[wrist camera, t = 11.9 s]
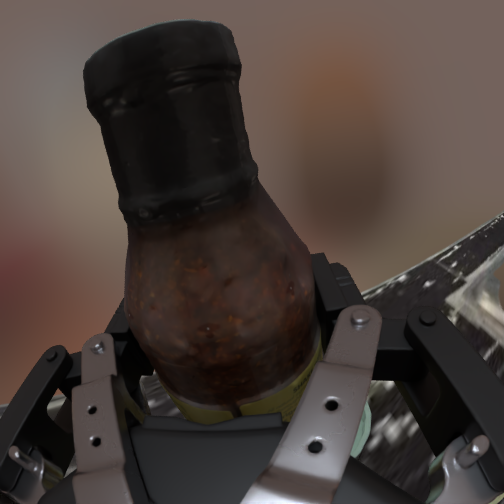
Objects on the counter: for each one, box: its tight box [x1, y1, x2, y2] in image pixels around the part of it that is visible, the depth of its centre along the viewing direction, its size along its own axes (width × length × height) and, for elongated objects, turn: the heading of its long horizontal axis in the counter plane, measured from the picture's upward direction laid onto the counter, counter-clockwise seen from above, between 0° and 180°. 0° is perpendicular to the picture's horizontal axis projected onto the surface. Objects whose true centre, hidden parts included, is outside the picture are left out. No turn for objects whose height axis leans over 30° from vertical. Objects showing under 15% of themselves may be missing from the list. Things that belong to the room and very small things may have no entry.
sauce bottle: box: [83, 19, 322, 425], centre depth 10 cm, size 7×6×20 cm
